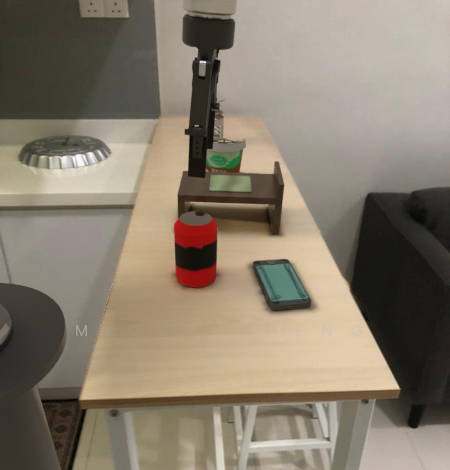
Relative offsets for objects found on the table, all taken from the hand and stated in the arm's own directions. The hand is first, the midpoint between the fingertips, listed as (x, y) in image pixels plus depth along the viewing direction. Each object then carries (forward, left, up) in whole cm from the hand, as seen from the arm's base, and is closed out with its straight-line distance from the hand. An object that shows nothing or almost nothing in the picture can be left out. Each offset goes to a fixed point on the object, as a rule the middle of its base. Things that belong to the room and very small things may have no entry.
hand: (201, 161), depth 78 cm
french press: (-2, +78, -21) cm, 80 cm away
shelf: (+5, +21, -21) cm, 30 cm away
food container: (+3, +47, -21) cm, 51 cm away
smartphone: (+15, -6, -21) cm, 26 cm away
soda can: (-1, -4, -21) cm, 21 cm away
